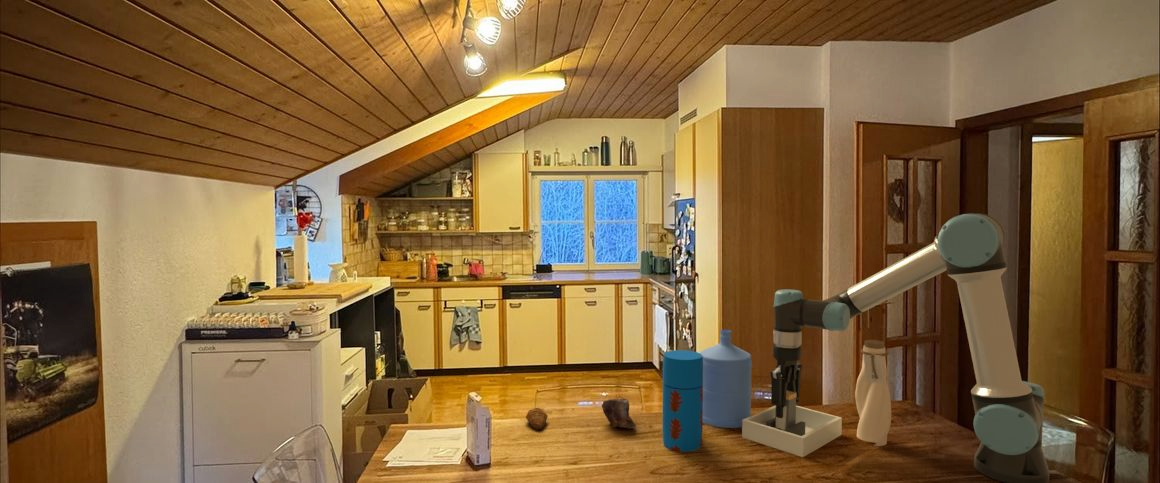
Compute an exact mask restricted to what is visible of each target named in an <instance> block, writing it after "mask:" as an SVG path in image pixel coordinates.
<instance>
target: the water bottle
mask: <svg viewBox="0 0 1160 483" xmlns="http://www.w3.org/2000/svg"><path fill="white" fill-rule="evenodd" d="M860 353H861V354H862V360H861V361H862V364H861V370H860V373H859V375H858V377H857V379H856V385H855V392H854V398H855V404H856V405H855V406H856V409H857V410H856V411H857V414H858V416H859V421H858V423H857V430H856V437H857V438H858V439H859V440H861V441H864V442H866V443H867V442H868V443H874V444H873V445H872V447H883V446H886V445H887V444H888V435H889V432H890V428H891V422H892V404H891V392H890V388H889V385H888V381H887V377H888V376H887V375H888V374H887V373H888V372H887V371H888V369H887V362H886V357H887V356H889V351H888V350H886V346H885V342H884V341H881V340H877V339H866V340H864V344H863V347H862V348H861V349H860Z"/></svg>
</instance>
